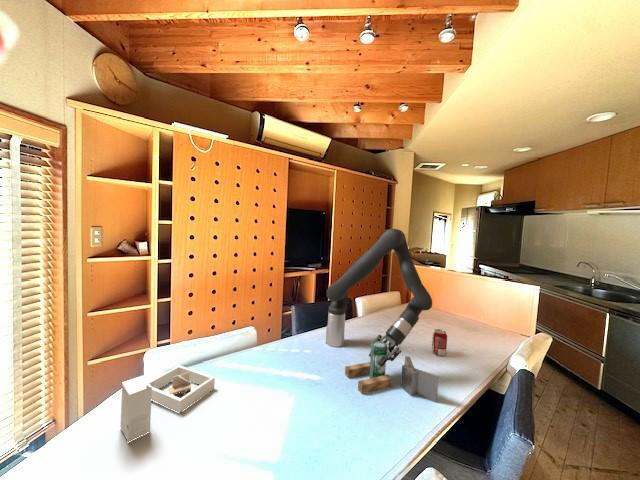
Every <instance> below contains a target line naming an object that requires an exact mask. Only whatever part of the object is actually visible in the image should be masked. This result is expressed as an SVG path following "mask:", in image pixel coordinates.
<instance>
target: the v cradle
mask: <svg viewBox="0 0 640 480" xmlns="http://www.w3.org/2000/svg"><path fill="white" fill-rule="evenodd" d="M400 388H401V389H403V390H404V391H405V392H406V393H407V394H408V395H409V396H410V397H414V396H420V397H422V398H424V399H427V400H429V401H431V402H434V403H436V402H437V400H438V391H439V390H438V388H439V376H437V375H435V374H432V373H429V372H427V371H424V370H421V369H418V368H415V366H414V364H413V362H412V359H411V357H410V356H408V355H407V356H404V364H403V365H402V366H401V379H400Z"/></svg>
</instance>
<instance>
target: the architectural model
mask: <svg viewBox="0 0 640 480" xmlns="http://www.w3.org/2000/svg"><path fill="white" fill-rule="evenodd" d="M191 384H192V382H190V381H189V372H188V373H185V374H181V375H178V376H174V377H173V381H172V387H170V388H168V391H169V394H171V395H172V394H176V393H179V392H180V394H182V395H185V394H186V392H187V391H186V390H189V391H190V392H191V391H192V390H191V389H192V385H191ZM185 391H186V392H185ZM189 391H188V392H189ZM184 393H185V394H184Z"/></svg>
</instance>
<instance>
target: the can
mask: <svg viewBox="0 0 640 480" xmlns="http://www.w3.org/2000/svg"><path fill="white" fill-rule="evenodd" d="M386 347H387V345H386V343H384V342H381V341H375V340H373V341H372V342H371V344H370V352H371V357H369V358H370V361H369V362H370V374H369V378H374V377H379V376H383V375H386V368H387V367H386V365H387V362H386V363H385V364H384V366H382V367H381V366H380V365H379V364H378V362H379V361H380V360H381V358H382V357H383V356H384V354H385V350H386Z"/></svg>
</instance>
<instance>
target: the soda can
mask: <svg viewBox="0 0 640 480" xmlns="http://www.w3.org/2000/svg"><path fill="white" fill-rule="evenodd" d="M447 343H448V334H447V332H446V330H444V329H441V328H435V329H434V331H433V332H432V343H431V353H432V354H434V355H436V356H438V357H443V356H444V357H445V356H446V355H447V345H448V344H447Z"/></svg>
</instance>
